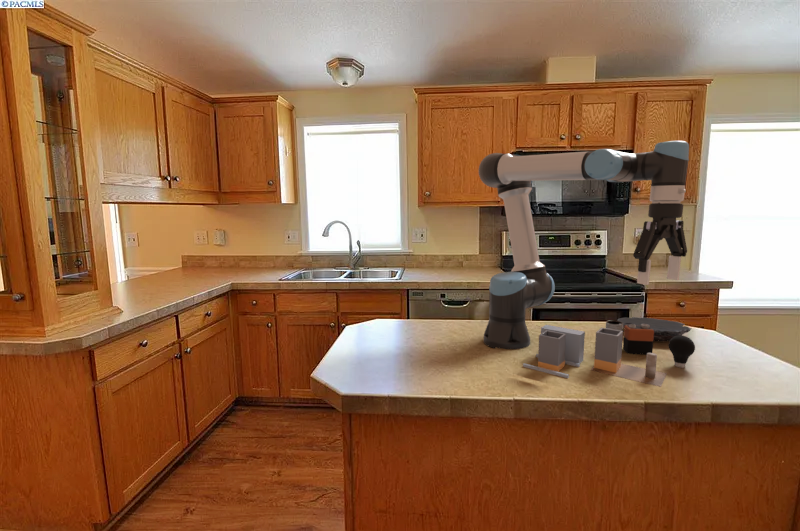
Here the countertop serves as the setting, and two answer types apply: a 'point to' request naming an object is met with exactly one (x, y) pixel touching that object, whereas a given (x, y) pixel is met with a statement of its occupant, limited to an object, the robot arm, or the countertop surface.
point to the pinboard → (639, 372)
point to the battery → (638, 339)
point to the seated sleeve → (608, 349)
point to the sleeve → (552, 350)
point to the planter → (614, 325)
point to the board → (658, 327)
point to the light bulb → (681, 349)
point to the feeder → (566, 349)
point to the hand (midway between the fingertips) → (658, 281)
